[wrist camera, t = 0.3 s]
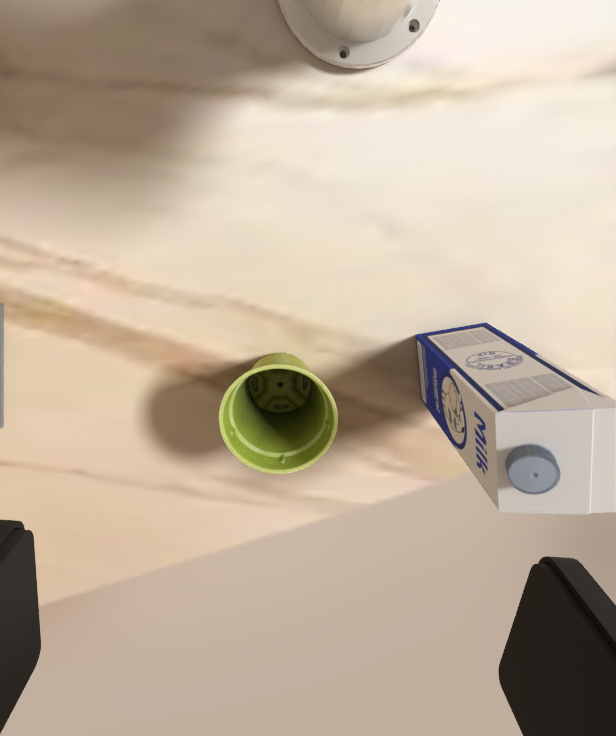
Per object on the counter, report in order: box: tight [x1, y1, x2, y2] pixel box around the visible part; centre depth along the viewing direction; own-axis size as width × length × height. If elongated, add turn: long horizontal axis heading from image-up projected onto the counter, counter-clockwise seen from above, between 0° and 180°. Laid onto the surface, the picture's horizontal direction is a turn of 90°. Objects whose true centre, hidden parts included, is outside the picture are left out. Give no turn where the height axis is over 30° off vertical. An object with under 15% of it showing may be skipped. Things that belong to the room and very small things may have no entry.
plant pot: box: [218, 353, 338, 474], centre depth 42 cm, size 9×9×9 cm
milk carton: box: [416, 323, 616, 514], centre depth 37 cm, size 7×7×20 cm
